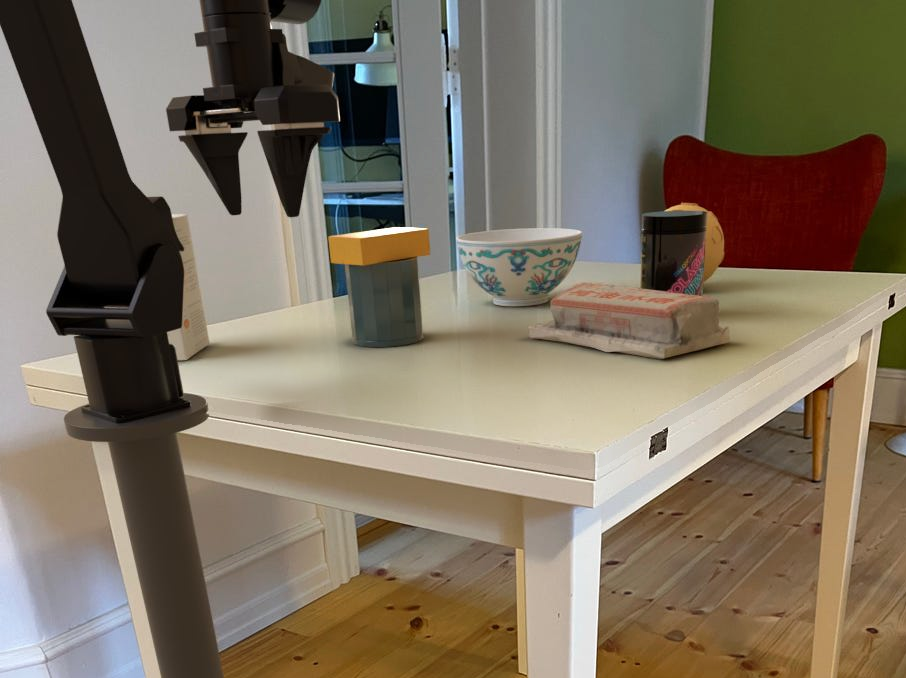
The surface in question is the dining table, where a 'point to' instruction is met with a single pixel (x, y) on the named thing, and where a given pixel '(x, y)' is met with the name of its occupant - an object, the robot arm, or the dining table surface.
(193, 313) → the small box
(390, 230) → the orange flat block
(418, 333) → the cup
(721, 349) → the dining table surface
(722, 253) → the stress ball
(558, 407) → the dining table surface
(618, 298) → the packaged product
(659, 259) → the supplement container
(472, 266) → the chinaware
